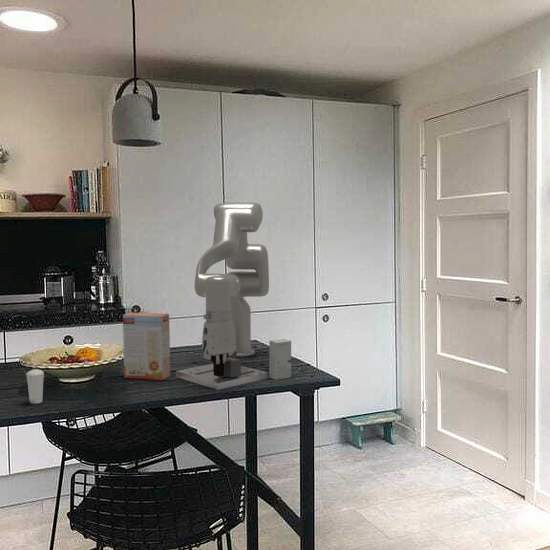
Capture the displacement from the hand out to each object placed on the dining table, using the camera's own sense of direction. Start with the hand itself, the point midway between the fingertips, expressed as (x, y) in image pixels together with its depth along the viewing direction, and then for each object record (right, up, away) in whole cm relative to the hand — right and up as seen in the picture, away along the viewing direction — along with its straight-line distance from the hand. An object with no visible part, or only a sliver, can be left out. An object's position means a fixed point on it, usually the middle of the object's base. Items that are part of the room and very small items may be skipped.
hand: (218, 375), depth 189 cm
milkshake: (-50, -5, -18) cm, 53 cm away
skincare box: (+19, -2, +10) cm, 21 cm away
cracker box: (-24, -3, +10) cm, 26 cm away
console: (0, -2, +10) cm, 10 cm away
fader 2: (+3, 0, +3) cm, 5 cm away
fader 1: (+1, +1, +15) cm, 15 cm away
